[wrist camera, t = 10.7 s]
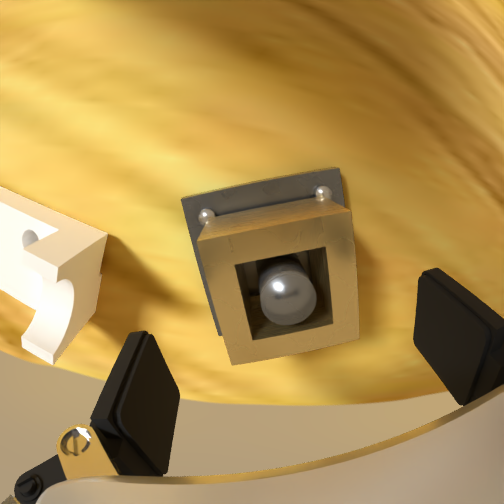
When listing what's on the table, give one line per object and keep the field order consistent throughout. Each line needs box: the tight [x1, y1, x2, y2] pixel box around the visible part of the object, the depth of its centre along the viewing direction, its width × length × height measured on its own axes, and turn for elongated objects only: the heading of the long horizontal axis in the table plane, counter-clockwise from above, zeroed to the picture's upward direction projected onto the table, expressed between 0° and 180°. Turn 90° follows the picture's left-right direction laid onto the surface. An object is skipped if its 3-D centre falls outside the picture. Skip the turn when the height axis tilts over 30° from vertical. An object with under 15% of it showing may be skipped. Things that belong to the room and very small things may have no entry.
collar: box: [196, 196, 359, 365], centre depth 17 cm, size 7×7×5 cm
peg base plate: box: [181, 167, 345, 336], centre depth 17 cm, size 10×10×7 cm
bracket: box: [0, 186, 108, 365], centre depth 16 cm, size 13×7×8 cm, turn 68°
